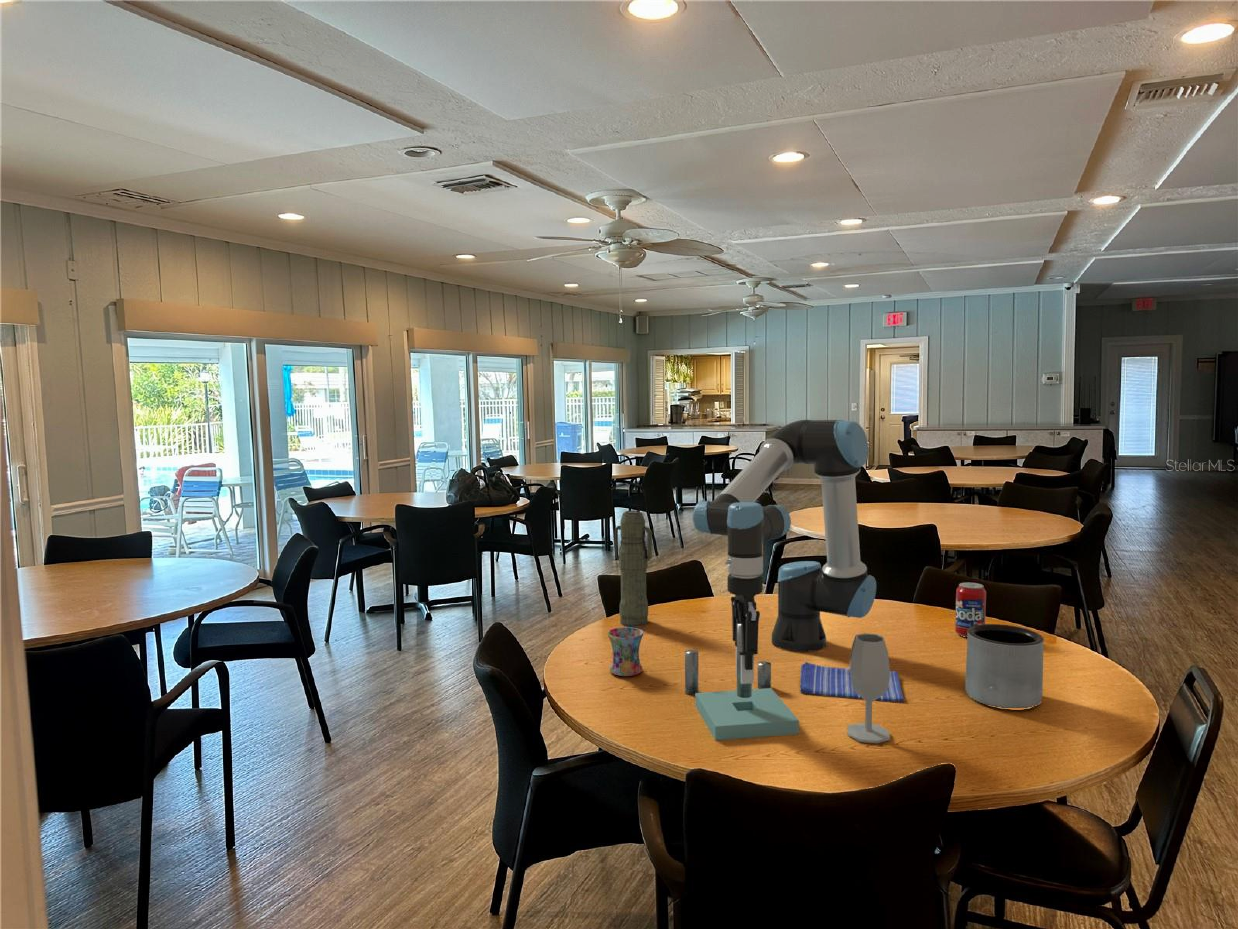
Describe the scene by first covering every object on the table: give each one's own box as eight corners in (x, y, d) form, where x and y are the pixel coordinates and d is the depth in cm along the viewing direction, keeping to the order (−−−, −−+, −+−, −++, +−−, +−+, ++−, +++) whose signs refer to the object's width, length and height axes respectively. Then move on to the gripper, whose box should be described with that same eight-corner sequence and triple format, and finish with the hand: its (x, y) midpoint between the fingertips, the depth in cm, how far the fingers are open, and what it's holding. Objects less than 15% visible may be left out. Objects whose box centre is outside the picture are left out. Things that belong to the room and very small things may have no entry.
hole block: (770, 700, 182) (771, 688, 182) (798, 734, 165) (798, 720, 164) (695, 705, 180) (695, 693, 180) (715, 740, 162) (715, 726, 162)
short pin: (768, 684, 192) (768, 661, 192) (772, 689, 189) (772, 665, 188) (755, 685, 192) (755, 661, 191) (759, 690, 189) (759, 666, 188)
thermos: (650, 627, 239) (649, 514, 236) (612, 625, 242) (610, 513, 238) (655, 619, 248) (654, 509, 244) (618, 617, 250) (617, 509, 247)
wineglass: (840, 727, 167) (841, 632, 165) (879, 725, 168) (881, 630, 166) (856, 746, 159) (857, 645, 157) (897, 743, 160) (899, 643, 157)
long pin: (749, 692, 173) (749, 621, 172) (753, 697, 170) (753, 625, 169) (735, 692, 173) (735, 622, 172) (739, 698, 170) (739, 626, 168)
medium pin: (696, 689, 190) (696, 649, 189) (699, 694, 187) (699, 653, 186) (683, 690, 189) (683, 650, 188) (686, 695, 186) (686, 654, 185)
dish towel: (801, 670, 203) (801, 660, 202) (898, 678, 196) (898, 667, 196) (798, 696, 186) (798, 684, 186) (904, 705, 180) (904, 693, 180)
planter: (1011, 718, 171) (1013, 649, 169) (949, 694, 185) (951, 629, 183) (1057, 704, 178) (1060, 637, 177) (995, 681, 192) (997, 619, 191)
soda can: (986, 633, 229) (988, 583, 227) (982, 641, 222) (984, 589, 221) (957, 629, 233) (959, 580, 231) (952, 637, 226) (954, 586, 225)
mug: (636, 681, 196) (635, 639, 195) (602, 676, 199) (601, 635, 198) (652, 665, 207) (652, 626, 206) (620, 661, 210) (619, 622, 209)
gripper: (718, 566, 177) (718, 667, 179) (738, 584, 161) (738, 695, 163) (750, 565, 178) (750, 665, 180) (774, 582, 162) (773, 692, 164)
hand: (744, 679), depth 171 cm, fingers closed on long pin, 3 cm apart
